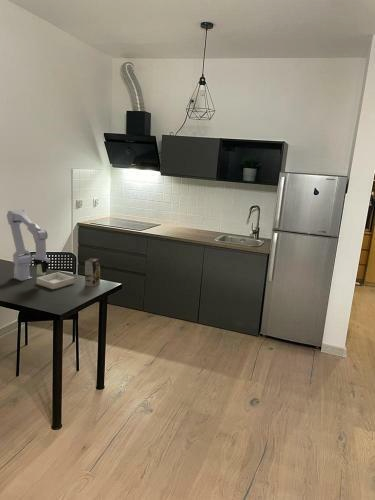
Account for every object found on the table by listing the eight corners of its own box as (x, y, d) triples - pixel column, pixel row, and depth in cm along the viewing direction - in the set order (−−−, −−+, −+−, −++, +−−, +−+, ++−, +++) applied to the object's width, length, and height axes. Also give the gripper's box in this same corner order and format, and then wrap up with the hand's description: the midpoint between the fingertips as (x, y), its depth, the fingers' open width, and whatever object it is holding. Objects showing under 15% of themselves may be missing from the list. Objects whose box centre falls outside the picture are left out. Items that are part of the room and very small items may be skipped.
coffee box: (94, 286, 229) (94, 262, 225) (84, 285, 230) (84, 261, 226) (100, 282, 238) (100, 258, 234) (91, 281, 239) (91, 257, 235)
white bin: (36, 283, 228) (36, 277, 227) (57, 278, 241) (57, 272, 240) (53, 289, 220) (53, 283, 219) (74, 283, 233) (74, 277, 232)
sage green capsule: (35, 274, 223) (34, 264, 222) (42, 272, 227) (42, 263, 226) (40, 276, 220) (39, 266, 219) (47, 274, 224) (47, 264, 223)
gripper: (27, 249, 221) (28, 270, 224) (42, 253, 213) (43, 275, 217) (37, 247, 227) (38, 268, 230) (52, 251, 219) (53, 272, 222)
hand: (41, 271), depth 224 cm, fingers closed on sage green capsule, 5 cm apart
